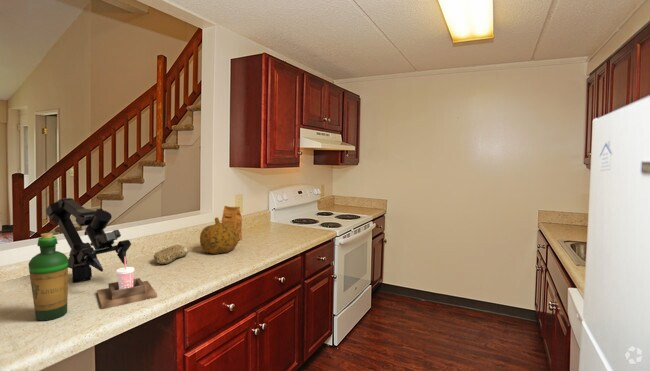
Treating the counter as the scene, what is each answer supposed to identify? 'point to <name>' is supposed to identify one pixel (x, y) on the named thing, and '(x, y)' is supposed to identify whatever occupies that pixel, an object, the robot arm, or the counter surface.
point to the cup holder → (125, 293)
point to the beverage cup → (125, 276)
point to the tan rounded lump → (170, 254)
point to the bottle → (49, 279)
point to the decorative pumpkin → (219, 238)
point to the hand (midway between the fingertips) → (114, 267)
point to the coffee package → (233, 218)
